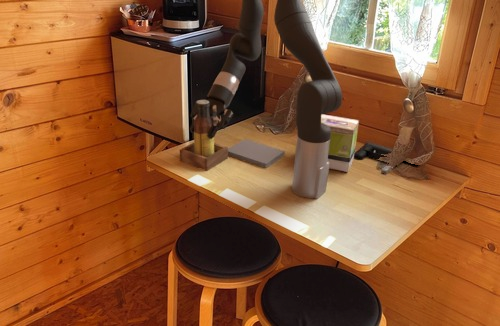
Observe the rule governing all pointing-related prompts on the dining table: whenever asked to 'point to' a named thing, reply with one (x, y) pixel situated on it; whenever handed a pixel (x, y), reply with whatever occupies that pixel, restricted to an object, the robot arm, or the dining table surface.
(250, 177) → the dining table surface
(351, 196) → the dining table surface
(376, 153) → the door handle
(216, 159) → the box
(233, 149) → the slate board
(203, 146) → the sauce bottle
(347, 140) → the tea box
